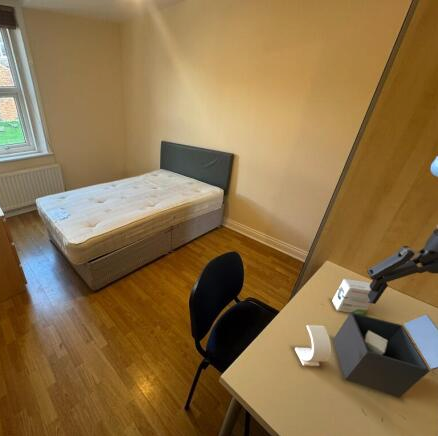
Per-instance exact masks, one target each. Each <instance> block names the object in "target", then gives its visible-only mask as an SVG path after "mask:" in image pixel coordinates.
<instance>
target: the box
mask: <svg viewBox="0 0 438 436" xmlns="http://www.w3.org/2000/svg"><path fill="white" fill-rule="evenodd" d="M363 338H364V341H365V343H366V346H367V348H368V350H369V351H370V352H373V353H376V354H380V355H383V354H384V353H385V350H386V347H387V342H388V340H386V339H384V338H382V337H380V336H378V335H377V334H375V333H373V332H371V331H368V332H367V333H366V334H365V336H364V337H363Z"/></svg>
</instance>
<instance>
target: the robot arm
mask: <svg viewBox="0 0 438 436" xmlns="http://www.w3.org/2000/svg"><path fill="white" fill-rule="evenodd" d="M430 173H431V174H432V175H433V176H435V177H437V178H438V155H437V156H436V157H435V159H434V160H433V161H432V163H431V165H430ZM418 264H419V265H420V266H418ZM426 272H427V273H430V274H438V224H437V225H436V228H435V229H434V230H433V231H432V232H431V234H430V235H429V236H428V238H427V239H426V241H425V244H424V246H423V247H422V248H421V249H419V250H417V249H412V248H410V247H409V246H408V245H403V246H401V247H400V249H398V251H397V252H396V253H394V254H392V255H390V256H389V257H387V258H385V259H383V260H382V261H380V262H378V263H376V264H375V265H373V266H371V267H370V268H368V269H367V270H366V273H367V274H368V276H369V278H370V279H371V280H372V281H371V282H370V283H371V284H370V289H371V290H370V292H369V293H368V295H367V296H368V298H369V300H370V302H371V304H373V305H376V304H377V302H378V301H379V299H380V298H381V297H382V295H383V293H384V292H385V291H386V289H387V288H388V286H389V285H388V283H389V282H392V281H395V280H399V279H401V278H404V277H408V276H411V275H414V274H423V273H424V274H425V273H426Z"/></svg>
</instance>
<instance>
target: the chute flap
mask: <svg viewBox="0 0 438 436" xmlns="http://www.w3.org/2000/svg"><path fill="white" fill-rule="evenodd" d="M403 325H404V328H405V330H407V333H409V335H410V338H412V340H413V343H414V344H415V346H417V347H416V348H418V350H419V352H420V354H422V357H423V359H424V361H426V363H427V365H428V366H429V368H430V369H431V370H432V371H433V370H434V371H435V370H438V327H437V325H436V324H435V323H434V321H433V320H432V318H431V317H430V315H429V314H428V313H427V314H424V315H421V316H419V317H417V318H414V319H412V320H409V321H407V322H404V323H403Z"/></svg>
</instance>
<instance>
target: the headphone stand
mask: <svg viewBox="0 0 438 436" xmlns="http://www.w3.org/2000/svg"><path fill="white" fill-rule="evenodd" d="M306 329H307V331H308V334H309V338H310V341H311V347H295V348H294V350H295V353H296V354H297V356H298V358H299V360H300V362H301V364H302V366H310V367H320V362H327V360H329V359H330V356H331V354H332V353H331V352H332V344H331V340H330V339H331V338H330V336H329V333H328V331H327V329H326V327H325V326H324V325H316V324H315V325H314V324H313V325H312V324H306Z"/></svg>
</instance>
